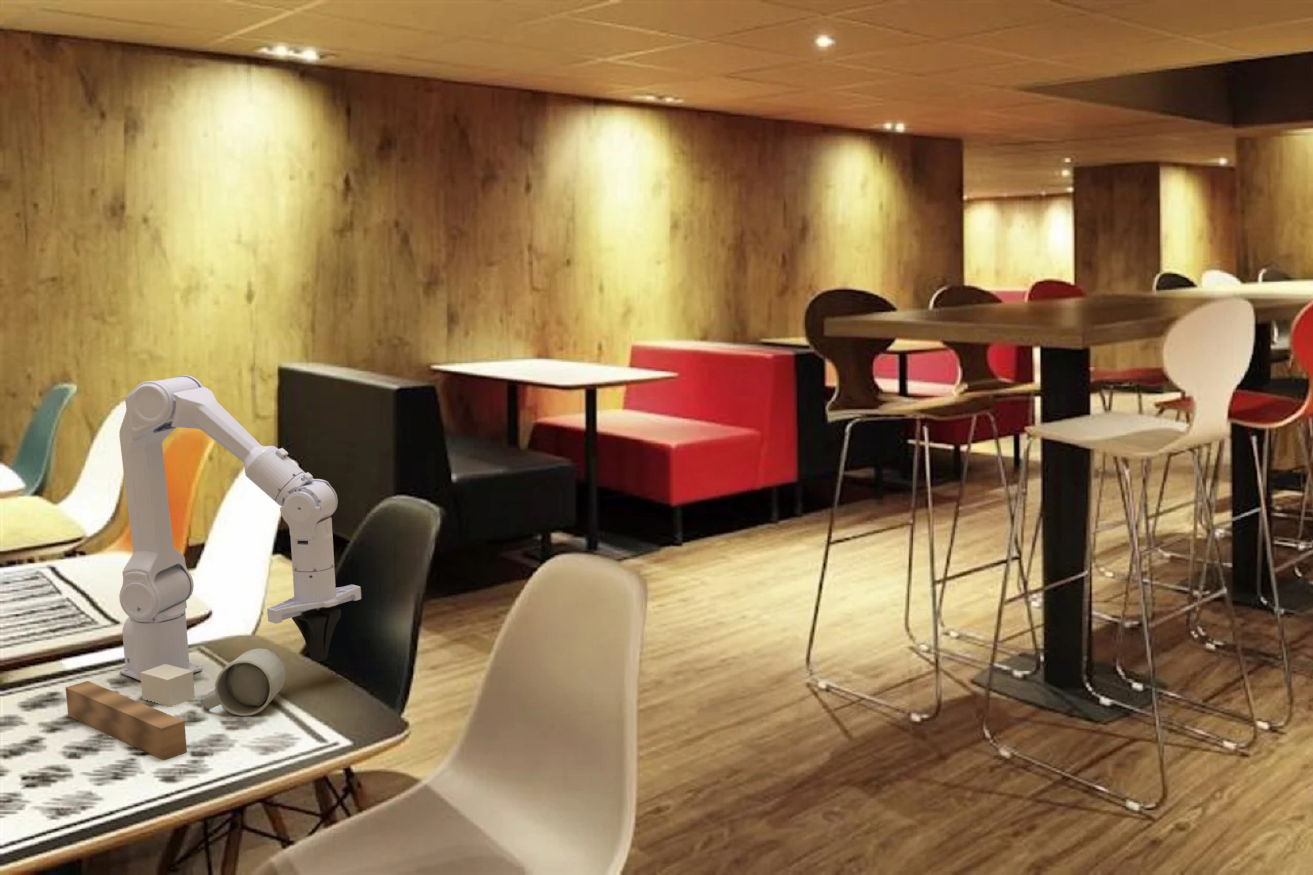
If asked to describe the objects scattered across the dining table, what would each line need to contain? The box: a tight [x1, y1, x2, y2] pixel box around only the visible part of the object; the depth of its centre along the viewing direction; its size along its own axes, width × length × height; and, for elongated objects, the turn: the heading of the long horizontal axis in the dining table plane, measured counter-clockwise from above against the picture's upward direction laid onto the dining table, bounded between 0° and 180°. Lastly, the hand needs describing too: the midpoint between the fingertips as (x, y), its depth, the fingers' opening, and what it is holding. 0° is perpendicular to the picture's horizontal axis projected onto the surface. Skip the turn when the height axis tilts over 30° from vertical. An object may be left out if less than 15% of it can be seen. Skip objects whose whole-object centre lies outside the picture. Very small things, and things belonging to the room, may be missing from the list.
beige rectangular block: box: [140, 664, 196, 708], centre depth 162 cm, size 6×4×4 cm, turn 59°
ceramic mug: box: [201, 647, 287, 717], centre depth 159 cm, size 11×8×8 cm
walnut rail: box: [65, 680, 188, 761], centre depth 150 cm, size 24×3×4 cm, turn 52°
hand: (318, 659), depth 168 cm, fingers closed
